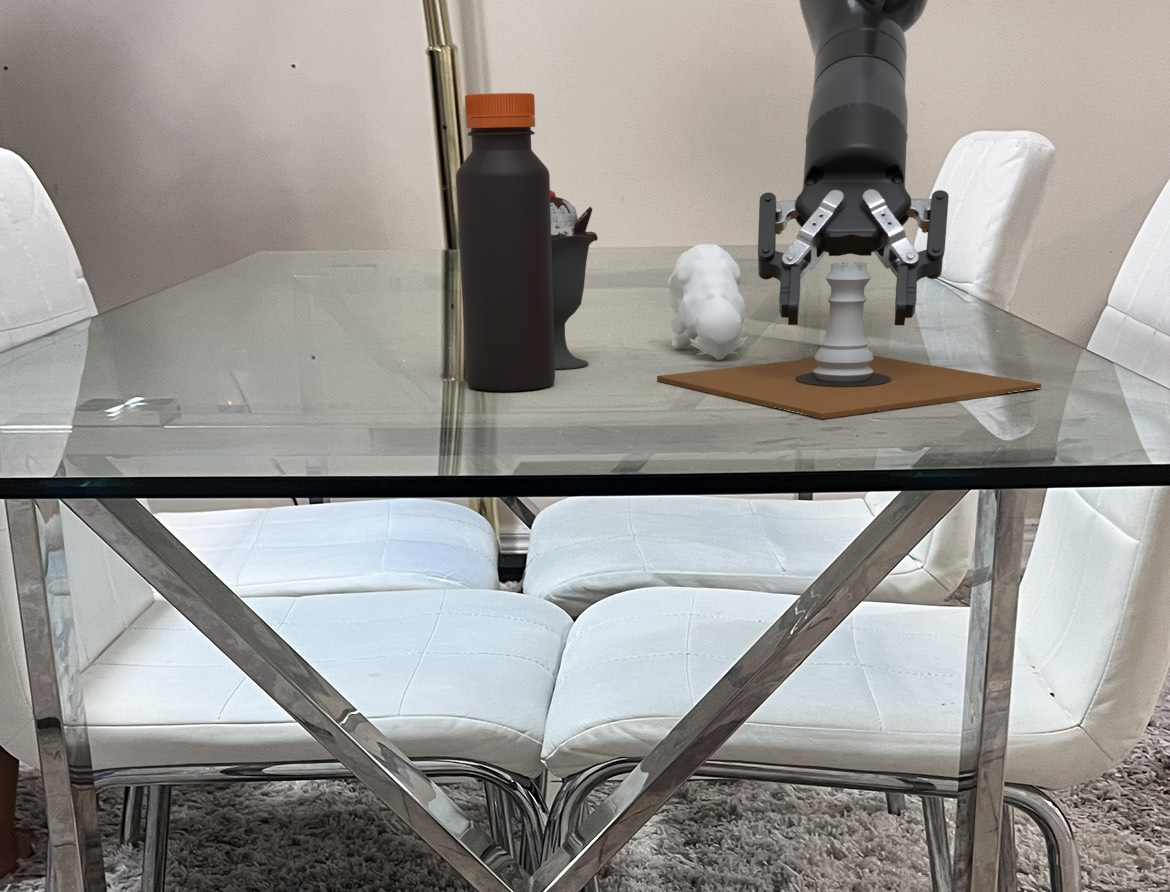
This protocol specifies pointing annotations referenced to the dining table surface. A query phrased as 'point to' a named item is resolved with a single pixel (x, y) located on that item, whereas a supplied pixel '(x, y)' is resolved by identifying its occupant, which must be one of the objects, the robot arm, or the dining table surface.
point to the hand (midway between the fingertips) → (846, 317)
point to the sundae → (567, 271)
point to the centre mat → (845, 386)
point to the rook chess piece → (845, 327)
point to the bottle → (505, 248)
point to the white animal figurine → (707, 301)
